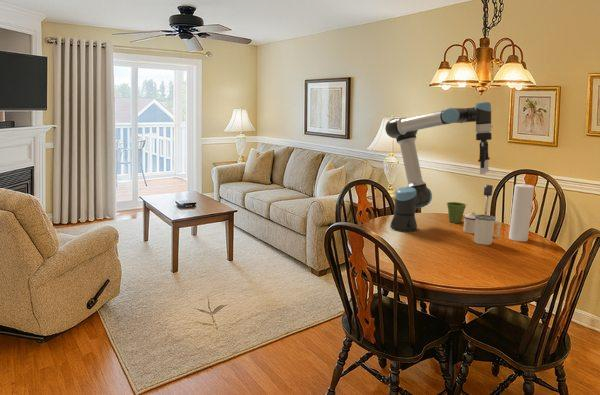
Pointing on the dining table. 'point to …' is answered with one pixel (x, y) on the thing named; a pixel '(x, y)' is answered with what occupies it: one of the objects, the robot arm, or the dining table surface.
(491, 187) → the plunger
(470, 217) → the teacup with lid
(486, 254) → the dining table surface
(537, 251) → the dining table surface
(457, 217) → the plant pot
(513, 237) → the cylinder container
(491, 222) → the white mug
